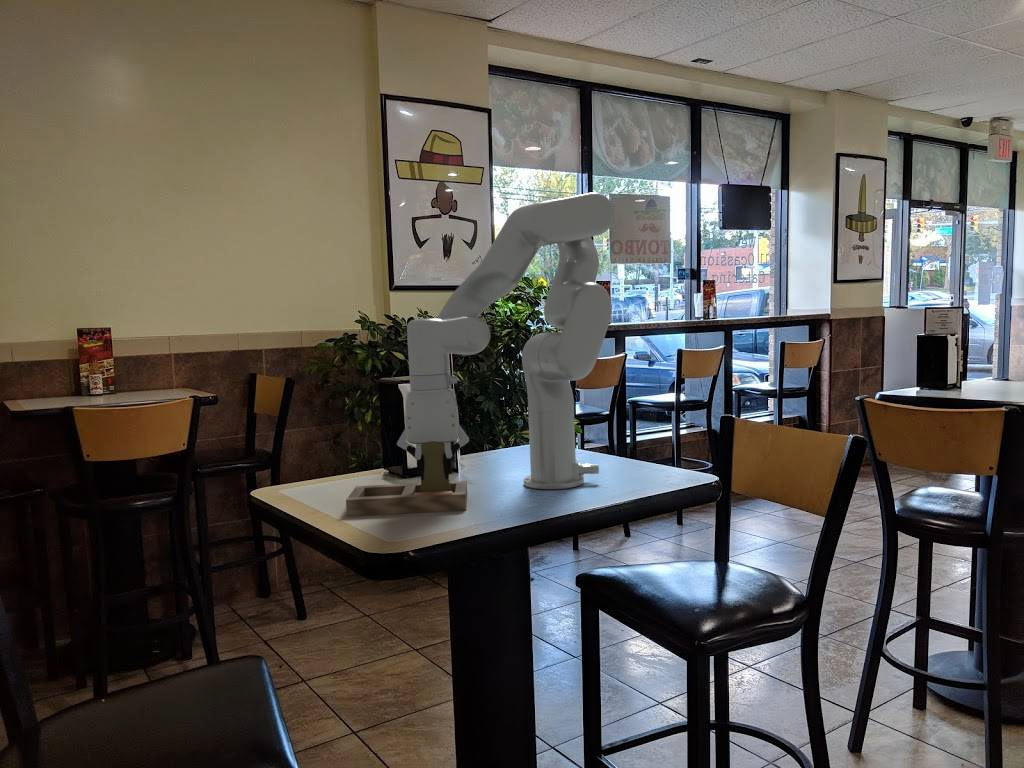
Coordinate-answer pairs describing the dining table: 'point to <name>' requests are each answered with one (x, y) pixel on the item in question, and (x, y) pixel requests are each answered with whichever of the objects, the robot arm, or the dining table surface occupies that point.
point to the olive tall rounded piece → (434, 468)
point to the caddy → (405, 499)
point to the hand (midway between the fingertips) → (435, 477)
